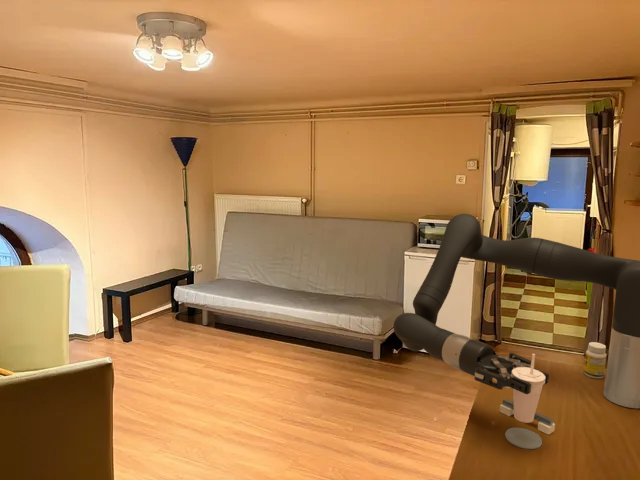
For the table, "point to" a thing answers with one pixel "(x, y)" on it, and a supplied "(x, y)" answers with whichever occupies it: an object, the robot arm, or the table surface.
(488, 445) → the table surface
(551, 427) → the hurdle stand
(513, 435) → the pad
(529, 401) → the smoothie
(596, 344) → the supplement bottle
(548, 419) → the steel bar
